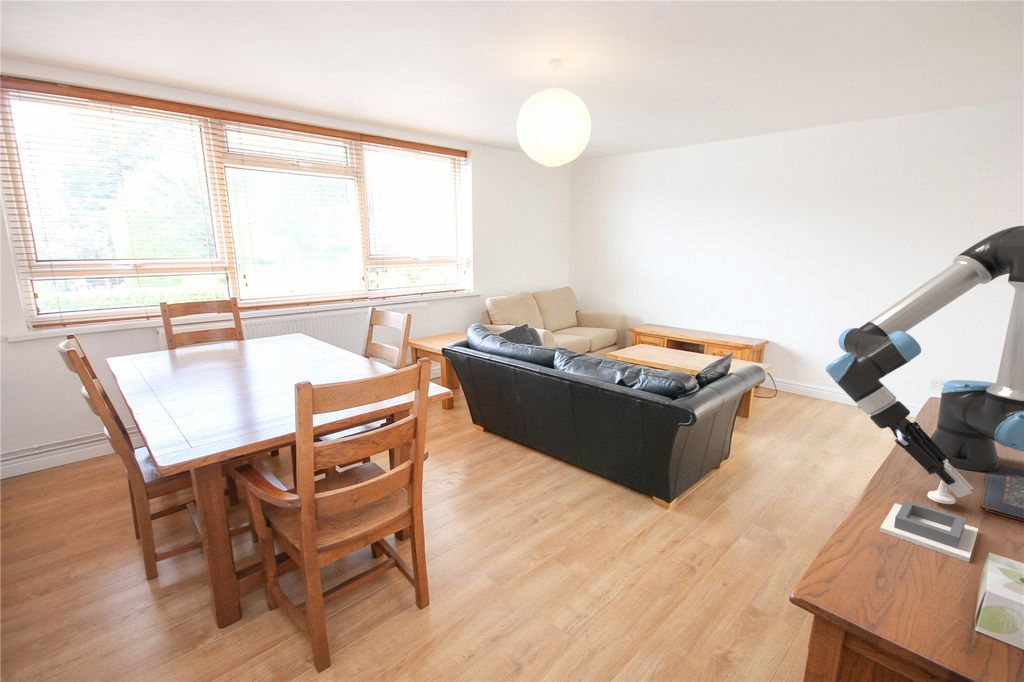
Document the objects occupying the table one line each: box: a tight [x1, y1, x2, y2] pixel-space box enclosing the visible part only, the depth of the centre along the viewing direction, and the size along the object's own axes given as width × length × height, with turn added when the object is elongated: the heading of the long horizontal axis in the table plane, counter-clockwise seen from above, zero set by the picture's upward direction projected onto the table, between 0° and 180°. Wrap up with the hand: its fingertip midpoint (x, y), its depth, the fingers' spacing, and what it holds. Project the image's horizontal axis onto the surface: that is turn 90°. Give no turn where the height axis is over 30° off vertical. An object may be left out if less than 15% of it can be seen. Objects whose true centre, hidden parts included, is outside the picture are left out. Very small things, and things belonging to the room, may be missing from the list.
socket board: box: [879, 499, 979, 563], centre depth 99 cm, size 14×14×4 cm
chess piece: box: [927, 459, 956, 505], centre depth 108 cm, size 5×5×10 cm
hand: (965, 492), depth 106 cm, fingers closed on chess piece, 2 cm apart
